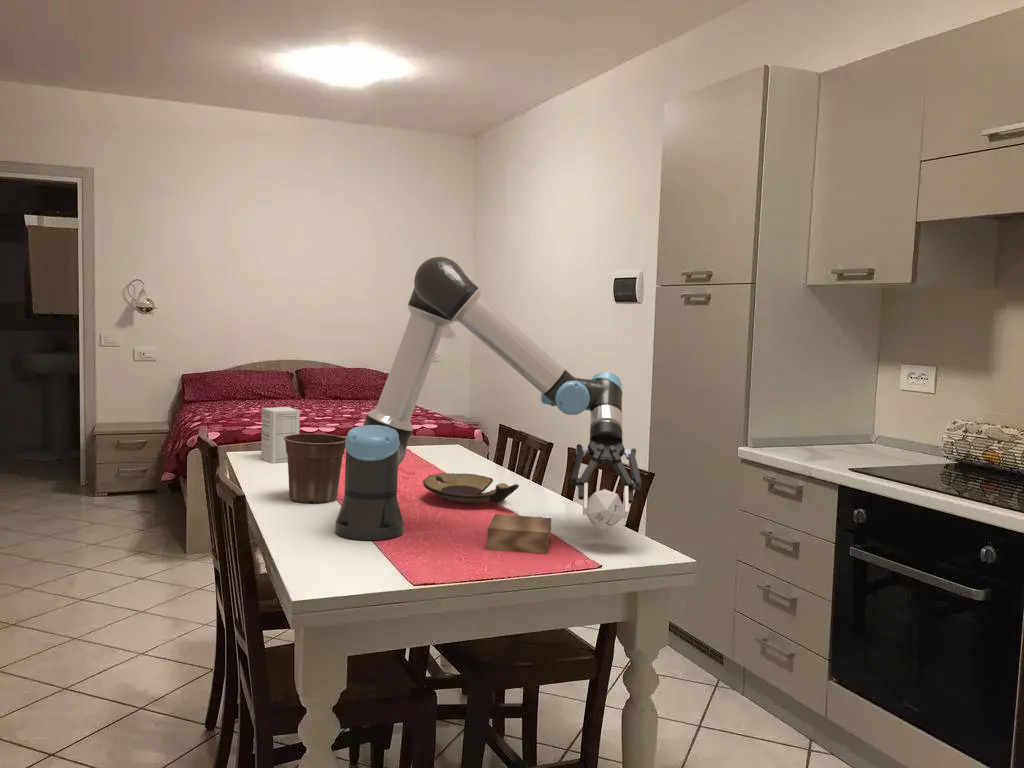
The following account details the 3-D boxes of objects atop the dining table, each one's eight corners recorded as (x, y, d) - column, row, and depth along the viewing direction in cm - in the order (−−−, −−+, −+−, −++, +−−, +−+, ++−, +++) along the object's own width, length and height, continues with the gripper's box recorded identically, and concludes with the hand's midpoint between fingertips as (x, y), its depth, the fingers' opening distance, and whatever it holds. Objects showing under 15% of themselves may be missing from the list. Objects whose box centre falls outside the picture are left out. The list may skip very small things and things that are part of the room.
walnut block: (486, 550, 176) (487, 528, 176) (493, 535, 189) (494, 514, 189) (547, 555, 175) (548, 532, 175) (550, 539, 188) (551, 518, 187)
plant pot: (358, 497, 219) (360, 437, 218) (319, 508, 204) (321, 444, 203) (309, 489, 226) (310, 431, 224) (268, 500, 211) (270, 437, 210)
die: (582, 532, 177) (609, 502, 173) (572, 504, 184) (598, 475, 180) (610, 542, 181) (637, 513, 177) (599, 515, 188) (625, 486, 184)
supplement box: (287, 456, 274) (289, 406, 272) (299, 461, 266) (301, 409, 265) (259, 458, 267) (261, 407, 266) (271, 463, 260) (272, 410, 259)
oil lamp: (482, 488, 238) (483, 462, 237) (532, 513, 211) (533, 483, 211) (409, 493, 228) (410, 465, 227) (452, 519, 201) (453, 488, 200)
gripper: (648, 442, 194) (651, 525, 180) (560, 435, 195) (555, 518, 181) (653, 422, 189) (656, 507, 174) (562, 416, 190) (557, 499, 175)
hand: (605, 513), depth 177 cm, fingers closed on die, 8 cm apart
